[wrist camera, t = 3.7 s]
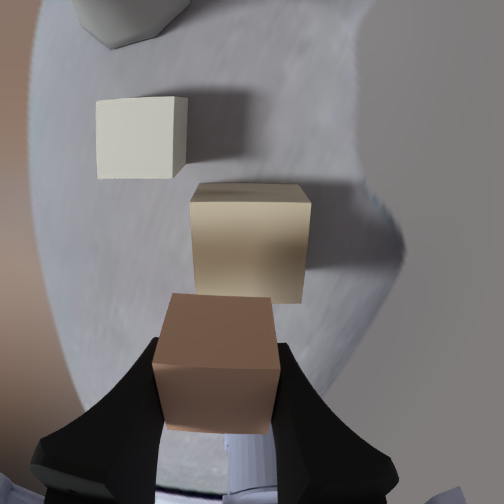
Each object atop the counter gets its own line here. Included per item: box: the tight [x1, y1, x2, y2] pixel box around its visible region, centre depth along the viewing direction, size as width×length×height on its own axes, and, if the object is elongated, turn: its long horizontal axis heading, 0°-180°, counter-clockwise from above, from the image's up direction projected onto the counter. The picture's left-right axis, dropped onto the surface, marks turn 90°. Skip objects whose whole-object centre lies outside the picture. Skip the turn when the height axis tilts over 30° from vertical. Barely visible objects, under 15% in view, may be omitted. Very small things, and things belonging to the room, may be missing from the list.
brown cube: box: [152, 293, 281, 434], centre depth 12 cm, size 4×4×4 cm
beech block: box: [190, 183, 311, 304], centre depth 19 cm, size 6×6×4 cm
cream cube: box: [96, 96, 188, 179], centre depth 16 cm, size 4×4×4 cm
